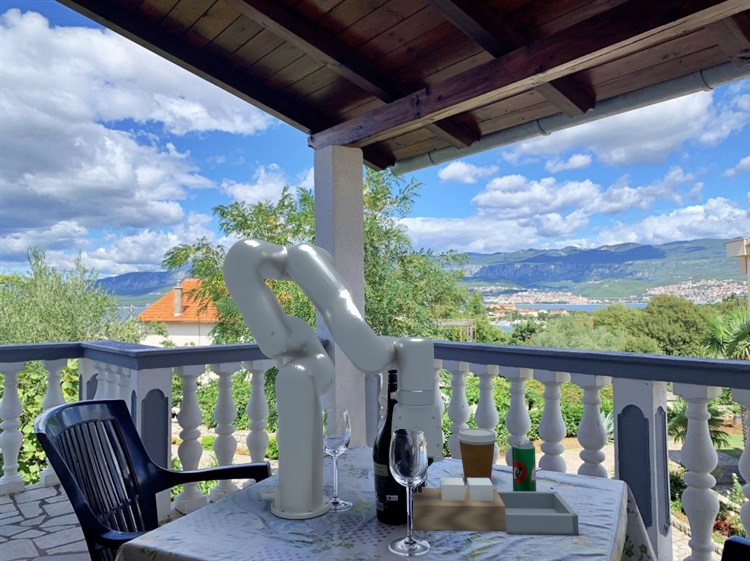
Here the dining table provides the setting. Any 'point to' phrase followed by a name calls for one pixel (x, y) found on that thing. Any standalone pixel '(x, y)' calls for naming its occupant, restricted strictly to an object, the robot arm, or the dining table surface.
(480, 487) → the tile
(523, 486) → the soda can
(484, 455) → the disposable coffee cup
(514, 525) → the tray
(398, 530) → the dining table surface
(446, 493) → the tile
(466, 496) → the wooden base board
